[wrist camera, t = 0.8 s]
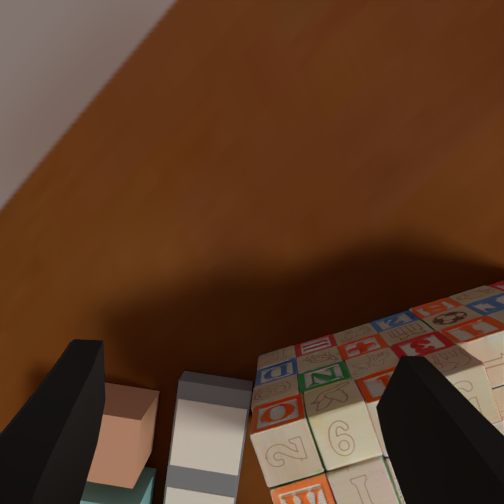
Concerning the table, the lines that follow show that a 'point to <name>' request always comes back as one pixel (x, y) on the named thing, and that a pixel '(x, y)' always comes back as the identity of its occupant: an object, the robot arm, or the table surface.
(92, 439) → the robot arm
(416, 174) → the table surface
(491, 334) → the stack of blocks
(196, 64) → the table surface
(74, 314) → the table surface
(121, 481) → the salmon orange cube
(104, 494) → the teal cube
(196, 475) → the base plate
